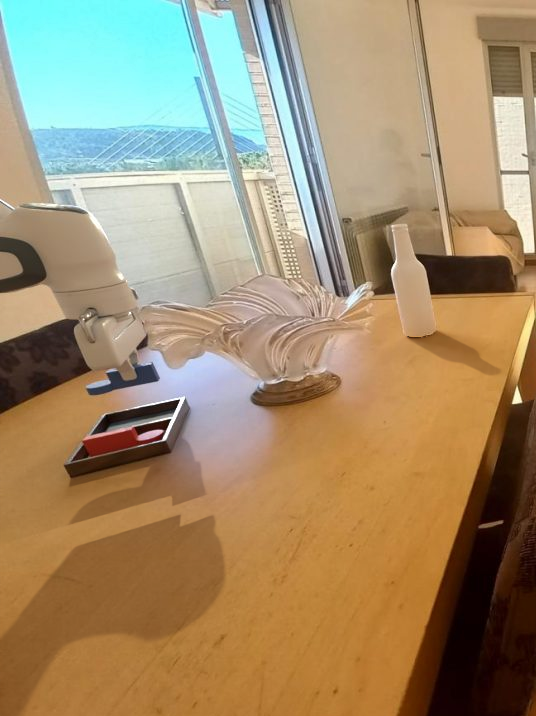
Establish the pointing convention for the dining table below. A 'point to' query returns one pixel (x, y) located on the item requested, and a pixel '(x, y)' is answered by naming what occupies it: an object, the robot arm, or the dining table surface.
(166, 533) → the dining table surface
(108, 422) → the tray
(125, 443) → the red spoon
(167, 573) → the dining table surface
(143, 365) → the blue toy piece
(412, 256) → the alcohol
